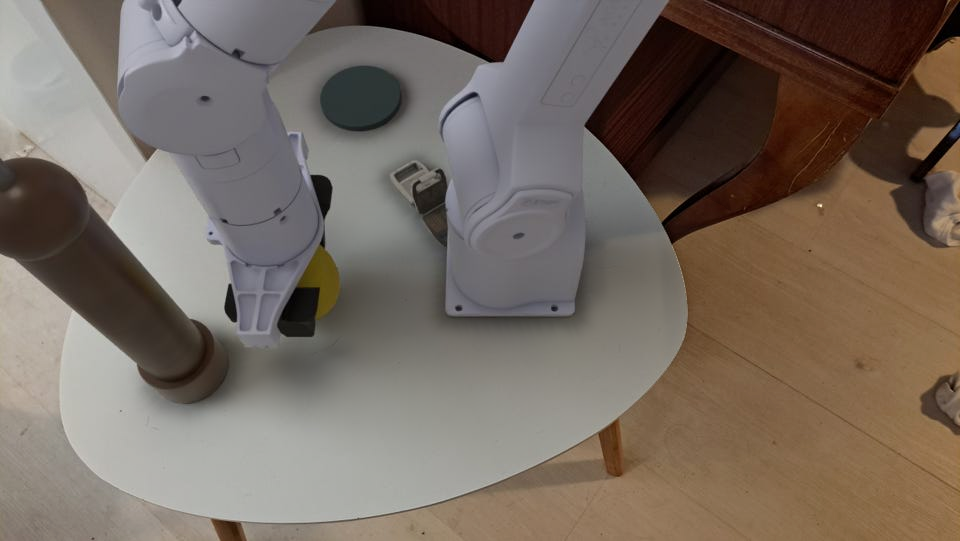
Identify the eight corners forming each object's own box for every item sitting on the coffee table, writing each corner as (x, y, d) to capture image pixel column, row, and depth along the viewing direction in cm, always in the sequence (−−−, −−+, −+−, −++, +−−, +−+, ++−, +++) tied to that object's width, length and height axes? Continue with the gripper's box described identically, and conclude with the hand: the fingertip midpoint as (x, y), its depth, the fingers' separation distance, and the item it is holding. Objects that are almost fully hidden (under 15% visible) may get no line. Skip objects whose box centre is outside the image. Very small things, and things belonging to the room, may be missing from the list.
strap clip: (387, 180, 60) (379, 148, 56) (418, 162, 60) (412, 129, 57) (445, 253, 56) (441, 224, 52) (477, 233, 57) (475, 203, 53)
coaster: (403, 69, 65) (402, 65, 65) (398, 131, 62) (398, 126, 61) (325, 70, 65) (324, 65, 65) (316, 131, 62) (315, 126, 61)
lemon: (336, 346, 52) (312, 296, 45) (263, 332, 53) (228, 281, 46) (357, 279, 55) (338, 223, 48) (288, 267, 55) (258, 209, 48)
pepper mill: (234, 335, 53) (63, 115, 32) (221, 403, 50) (26, 215, 29) (163, 334, 53) (-55, 116, 32) (147, 403, 50) (-101, 215, 29)
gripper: (203, 84, 44) (265, 208, 56) (149, 299, 37) (232, 389, 49) (319, 83, 44) (356, 208, 56) (287, 299, 37) (337, 389, 49)
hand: (305, 293), depth 52 cm, fingers closed on lemon, 5 cm apart
